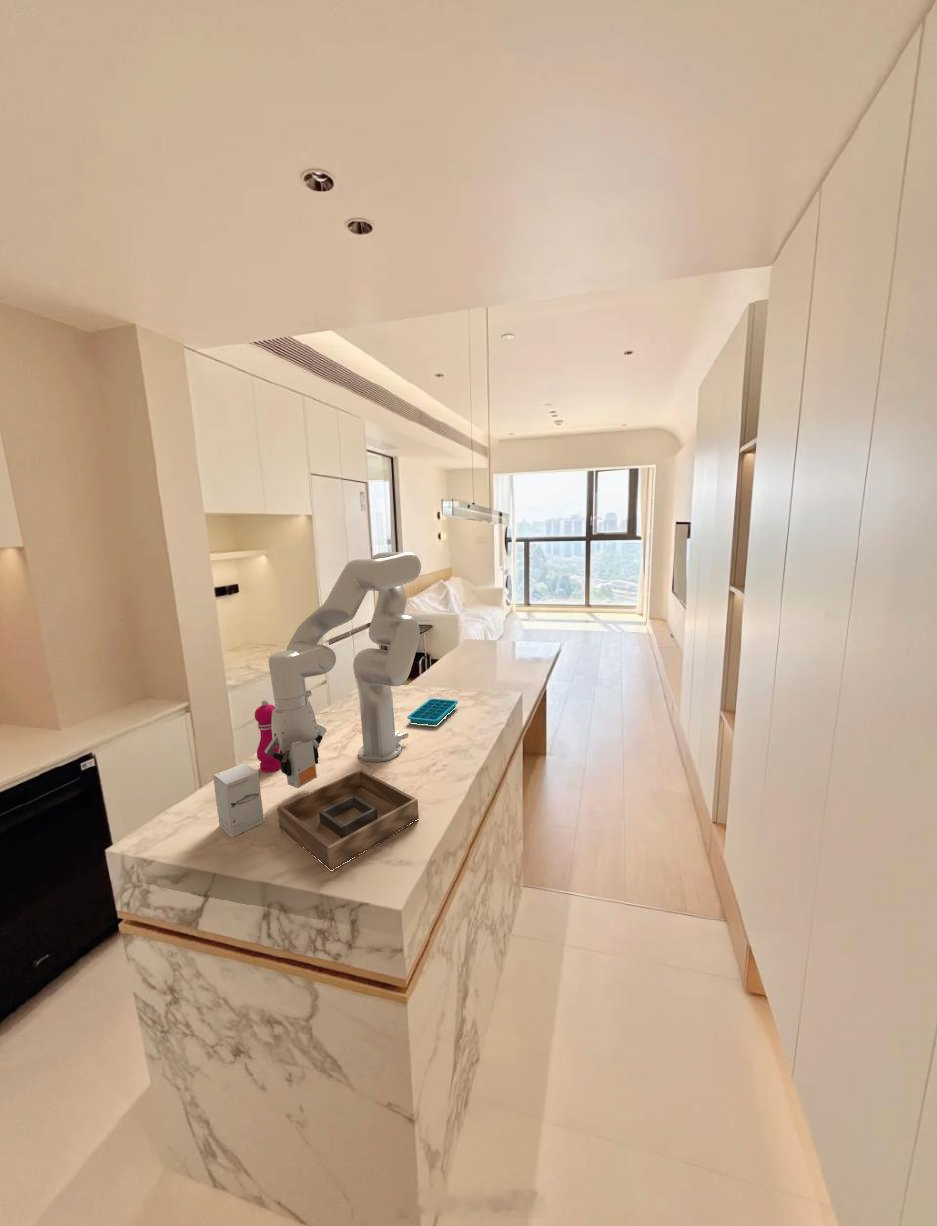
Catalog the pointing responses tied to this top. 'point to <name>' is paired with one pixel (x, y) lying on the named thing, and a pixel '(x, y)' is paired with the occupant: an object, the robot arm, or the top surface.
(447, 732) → the top surface
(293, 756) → the skincare box
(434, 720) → the ice cube tray
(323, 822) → the walled box
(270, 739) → the pepper mill
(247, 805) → the supplement box
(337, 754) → the top surface
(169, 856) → the top surface
